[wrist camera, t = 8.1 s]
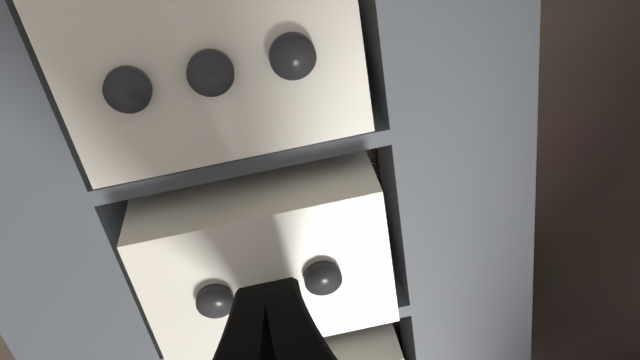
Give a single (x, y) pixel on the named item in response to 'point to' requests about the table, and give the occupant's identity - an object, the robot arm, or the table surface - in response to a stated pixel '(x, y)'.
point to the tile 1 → (261, 250)
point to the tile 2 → (366, 344)
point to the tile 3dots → (198, 79)
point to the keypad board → (388, 138)
